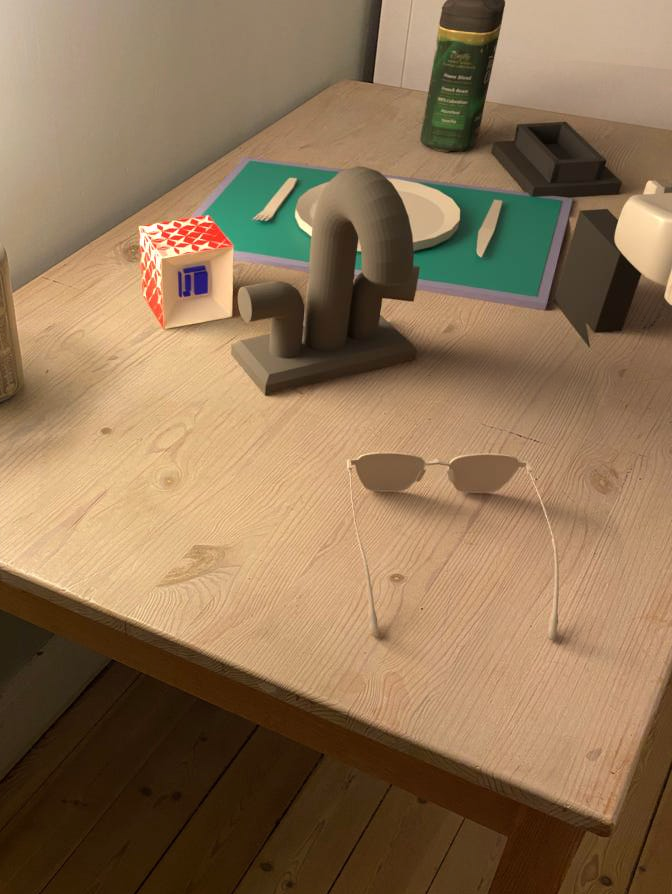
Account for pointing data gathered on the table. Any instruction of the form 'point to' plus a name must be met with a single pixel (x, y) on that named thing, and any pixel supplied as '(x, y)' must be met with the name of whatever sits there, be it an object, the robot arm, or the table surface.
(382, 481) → the eyeglasses
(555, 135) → the base pad
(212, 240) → the patterned open box
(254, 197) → the place mat
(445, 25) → the coffee jar
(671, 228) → the robot arm
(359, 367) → the faucet
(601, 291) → the upright pad
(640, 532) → the table surface
